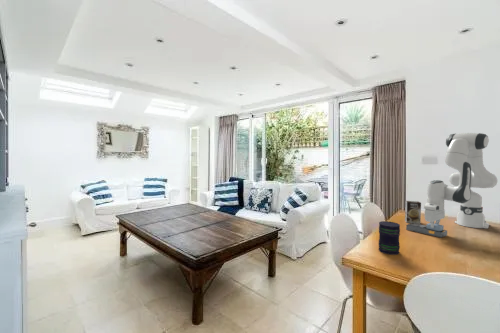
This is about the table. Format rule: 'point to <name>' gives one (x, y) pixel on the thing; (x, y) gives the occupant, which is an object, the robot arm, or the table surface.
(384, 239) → the storage jar
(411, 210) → the coffee box
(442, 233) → the rack
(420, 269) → the table surface
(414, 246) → the table surface
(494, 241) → the table surface
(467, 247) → the table surface
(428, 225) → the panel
